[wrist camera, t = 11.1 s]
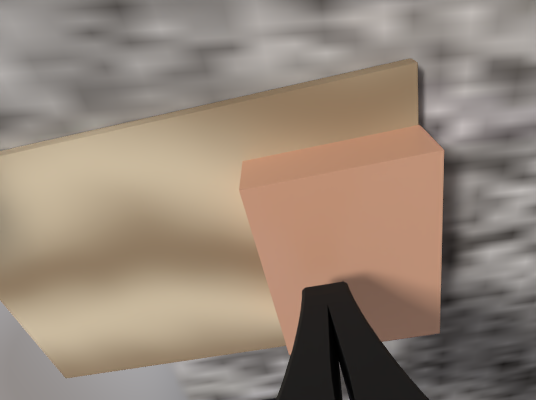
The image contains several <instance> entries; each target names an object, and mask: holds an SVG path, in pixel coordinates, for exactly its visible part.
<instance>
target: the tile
mask: <svg viewBox="0 0 536 400" xmlns="http://www.w3.org/2000/svg"><path fill="white" fill-rule="evenodd" d="M443 176H444V149H443V148H442V147H441V146H440V145H439V144H438V143H437V142H436V141H435V140H434V139H433V138H432V137H431V136H430V135H429V134H428V133H427V132H426V131H425V130H424V129H423V128H422V127H421V126H420V125H416V126H411V127H406V128H401V129H397V130H392V131H387V132H382V133H377V134H372V135H368V136H363V137H358V138H353V139H348V140H343V141H338V142H334V143H329V144H324V145H319V146H314V147H309V148H304V149H300V150H295V151H290V152H285V153H280V154H275V155H270V156H266V157H261V158H256V159H251V160H246V161H242V170H241V178H240V186H239V192H240V195H241V199H242V202H243V205H244V208H245V212H246V215H247V218H248V221H249V225H250V228H251V231H252V235H253V238H254V241H255V244H256V248H257V251H258V254H259V257H260V261H261V264H262V267H263V271H264V274H265V277H266V280H267V284H268V287H269V290H270V294H271V297H272V300H273V303H274V307H275V310H276V313H277V316H278V320H279V323H280V326H281V330H282V333H283V336H284V339H285V343H286V346H287V349H288V352H289V355H291V353H292V349H293V345H294V340H295V336H296V332H297V327H298V322H299V317H300V310H301V301H302V290H303V289H304V288H306V287H312V286H318V285H324V284H330V283H336V282H342V281H344V282H346V283H347V284H348V286H349V289H350V291H351V293H352V295H353V297H354V299H355V301H356V303H357V305H358V307H359V308H360V310H361V312H362V313H363V315H364V317H365V318H366V320H367V321H368V323H369V325H370V326H371V327H372V329H373V330H374V332H375V333H376V335H377V336H378V338H379V339H380V341H381V342H383V341H390V340H397V339H404V338H411V337H418V336H425V335H432V334H439V333H440V302H441V260H442V218H443Z"/></svg>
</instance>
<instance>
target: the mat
mask: <svg viewBox="0 0 536 400" xmlns="http://www.w3.org/2000/svg"><path fill="white" fill-rule="evenodd" d="M416 125H418V63H417V62H416V61H414V60H413V59H406V60H402V61H397V62H393V63H389V64H384V65H380V66H375V67H371V68H366V69H362V70H358V71H353V72H349V73H344V74H340V75H335V76H331V77H327V78H322V79H318V80H313V81H309V82H304V83H300V84H296V85H291V86H287V87H282V88H278V89H273V90H269V91H264V92H260V93H256V94H251V95H247V96H242V97H238V98H233V99H229V100H225V101H220V102H216V103H211V104H207V105H202V106H198V107H194V108H189V109H185V110H180V111H176V112H171V113H167V114H163V115H158V116H154V117H149V118H145V119H140V120H136V121H132V122H127V123H123V124H118V125H114V126H109V127H105V128H101V129H96V130H92V131H87V132H83V133H78V134H74V135H70V136H65V137H61V138H56V139H52V140H47V141H43V142H39V143H34V144H30V145H25V146H21V147H16V148H12V149H8V150H3V151H0V300H1V302H2V303H3V304H4V305H5V306H6V308H7V309H8V310H9V311H10V313H11V314H12V315H13V316H14V317H15V318H16V320H17V321H18V322H19V323H20V324H21V326H22V327H23V328H24V329H25V330H26V332H28V334H29V335H30V336H31V337H32V339H33V340H34V341H35V342H36V343H37V345H38V346H39V347H40V348H41V349H42V351H43V352H44V353H45V354H46V355H47V357H48V358H49V359H50V360H51V361H52V363H53V364H54V365H55V366H56V367H57V368H58V369H59V371H60V372H61V373H62V374H63V376H64V377H65V378H72V377H78V376H85V375H92V374H99V373H105V372H112V371H118V370H126V369H132V368H139V367H146V366H152V365H159V364H166V363H173V362H179V361H186V360H193V359H200V358H206V357H213V356H220V355H227V354H233V353H240V352H247V351H254V350H260V349H267V348H274V347H281V346H286V343H285V339H284V336H283V333H282V330H281V326H280V323H279V320H278V316H277V313H276V310H275V307H274V303H273V300H272V297H271V294H270V290H269V287H268V284H267V280H266V277H265V274H264V271H263V267H262V264H261V261H260V257H259V254H258V251H257V248H256V244H255V241H254V238H253V235H252V231H251V228H250V225H249V221H248V218H247V215H246V212H245V208H244V205H243V202H242V199H241V195H240V192H239V186H240V178H241V170H242V161H246V160H251V159H256V158H261V157H266V156H270V155H275V154H280V153H285V152H290V151H295V150H300V149H304V148H309V147H314V146H319V145H324V144H329V143H334V142H338V141H343V140H348V139H353V138H358V137H363V136H368V135H372V134H377V133H382V132H387V131H392V130H397V129H401V128H406V127H411V126H416Z"/></svg>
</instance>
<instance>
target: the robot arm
mask: <svg viewBox="0 0 536 400" xmlns="http://www.w3.org/2000/svg"><path fill="white" fill-rule="evenodd" d="M339 363H340V366H341V370H342V374H343V377H344V381H345V384H346V388H347V391H348V395H349V399H350V400H429V399H428V398H427V397H426V396H425V395H424V393H423V392H422V391H421V390H420V389H419V388H418V387H417V386H416V384H415V383H414V382H413V381H412V380H411V379H410V378H409V376H408V375H407V374H406V373H405V372H404V370H403V369H402V368H401V367H400V365H399V364H398V363H397V362H396V360H395V359H394V358H393V357H392V355H391V354H390V353H389V351H388V350H387V349H386V347H385V346H384V345H383V343H382V342H381V341H380V339H379V338H378V336H377V335H376V333H375V332H374V330H373V329H372V327H371V326H370V325H369V323H368V321H367V320H366V318H365V317H364V315H363V313H362V312H361V310H360V308H359V307H358V305H357V303H356V301H355V299H354V297H353V295H352V293H351V291H350V289H349V286H348V284H347V283H346V282H344V281H342V282H336V283H330V284H324V285H318V286H312V287H306V288H304V289H303V290H302V301H301V310H300V317H299V322H298V327H297V332H296V336H295V340H294V345H293V349H292V353H291V356H290V359H289V363H288V366H287V369H286V373H285V376H284V379H283V382H282V385H281V388H280V390H279V393H278V396H277V398H276V400H342V390H341V379H340V369H339Z"/></svg>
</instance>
